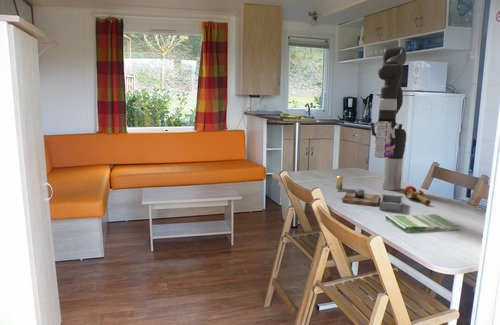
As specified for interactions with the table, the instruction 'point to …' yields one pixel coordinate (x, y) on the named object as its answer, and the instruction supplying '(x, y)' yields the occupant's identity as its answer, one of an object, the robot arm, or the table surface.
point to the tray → (391, 203)
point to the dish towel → (421, 223)
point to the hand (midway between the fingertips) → (384, 145)
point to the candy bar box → (384, 140)
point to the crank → (339, 186)
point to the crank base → (362, 199)
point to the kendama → (416, 194)
